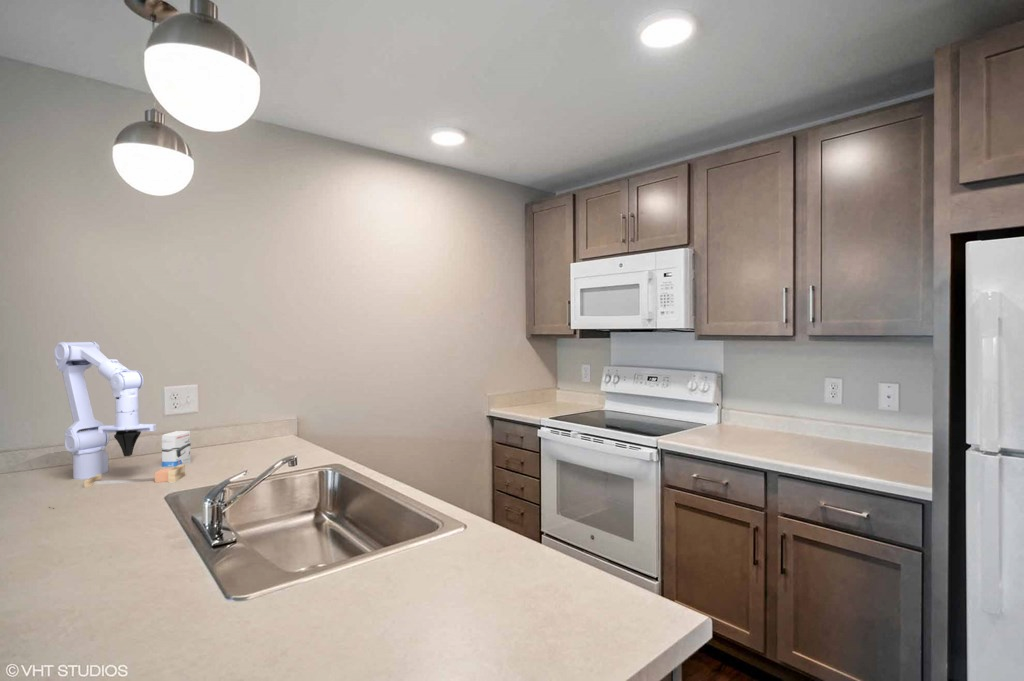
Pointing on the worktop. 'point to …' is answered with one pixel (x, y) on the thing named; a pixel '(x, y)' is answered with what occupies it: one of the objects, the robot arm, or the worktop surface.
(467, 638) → the worktop surface
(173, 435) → the ink box
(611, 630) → the worktop surface
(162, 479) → the block
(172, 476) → the rail board
